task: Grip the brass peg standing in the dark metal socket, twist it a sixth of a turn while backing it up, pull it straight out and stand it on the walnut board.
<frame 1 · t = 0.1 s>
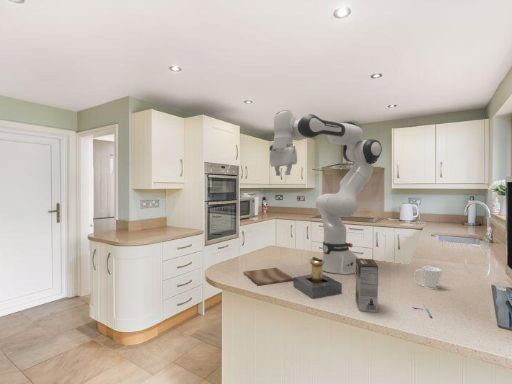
hand: (282, 175, 131), 48 cm above the countertop, tool pointing down, fingers open, 8 cm apart
squeegee: (419, 309, 99), on the countertop
coffee box: (365, 306, 100), on the countertop
metal socket: (316, 289, 116), on the countertop
cup: (426, 287, 120), on the countertop
walnut board: (267, 277, 131), on the countertop
brass peg: (316, 274, 116), in the metal socket
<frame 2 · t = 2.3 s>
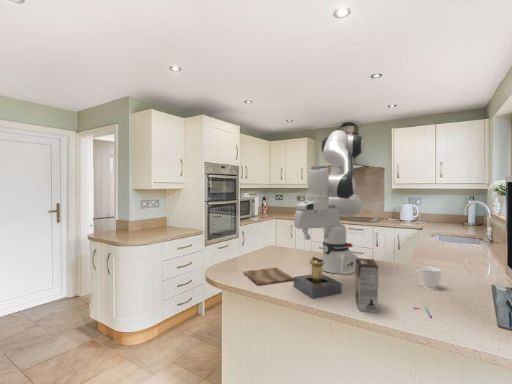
hand: (317, 238, 115), 21 cm above the countertop, tool pointing down, fingers open, 8 cm apart
nothing on the countertop moved.
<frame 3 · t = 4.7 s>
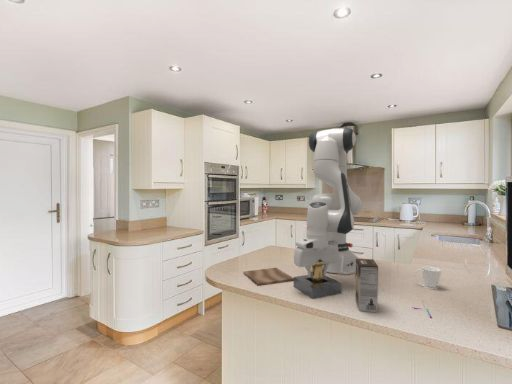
hand: (316, 275, 116), 6 cm above the countertop, tool pointing down, fingers closed on brass peg, 5 cm apart
brass peg: (316, 274, 116), in the metal socket, touching gripper
everything else where it was.
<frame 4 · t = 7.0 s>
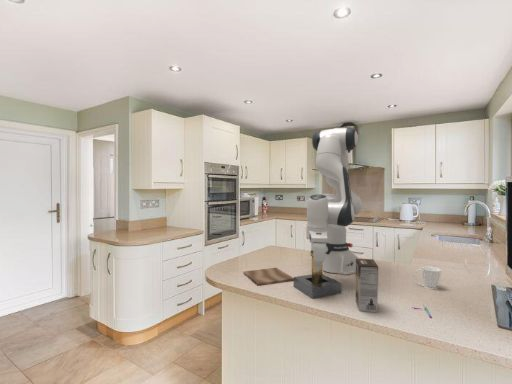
hand: (317, 267, 116), 9 cm above the countertop, tool pointing down, fingers closed on brass peg, 5 cm apart
brass peg: (317, 266, 116), point 10 cm above the countertop, touching gripper
everything else where it was.
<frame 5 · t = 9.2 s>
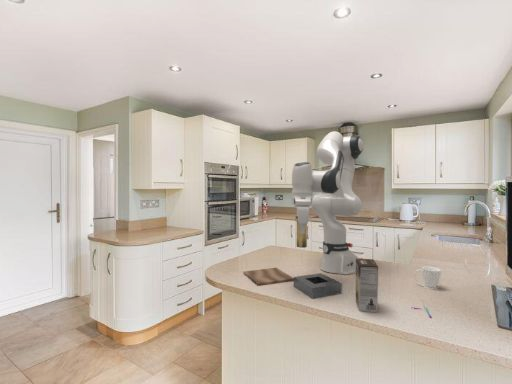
hand: (301, 232, 120), 23 cm above the countertop, tool pointing down, fingers closed on brass peg, 5 cm apart
brass peg: (301, 231, 120), point 24 cm above the countertop, touching gripper
everything else where it was.
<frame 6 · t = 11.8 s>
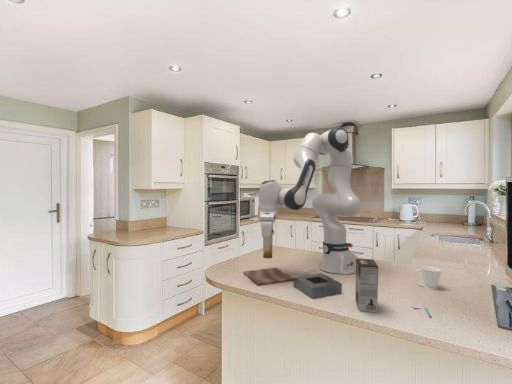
hand: (267, 244, 131), 16 cm above the countertop, tool pointing down, fingers closed on brass peg, 5 cm apart
brass peg: (267, 243, 131), point 16 cm above the countertop, touching gripper
everything else where it was.
when the fingers open (9 cm above the countertop, at t = 13.9 s): brass peg drops 1 cm, resting on walnut board.
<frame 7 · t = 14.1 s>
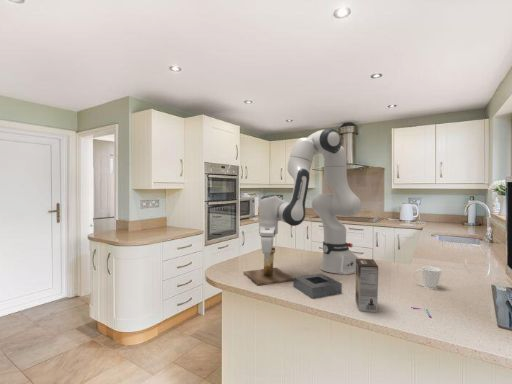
hand: (268, 258, 131), 9 cm above the countertop, tool pointing down, fingers open, 7 cm apart
brass peg: (268, 261, 131), on the walnut board, point 8 cm above the countertop
everything else where it was.
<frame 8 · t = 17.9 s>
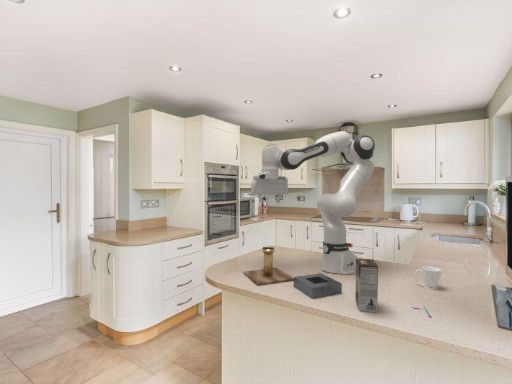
hand: (269, 202, 145), 34 cm above the countertop, tool pointing down, fingers open, 8 cm apart
nothing on the countertop moved.
at the end: brass peg inside the target area on the walnut board (0.1 cm from its centre), point 7.5 cm above the walnut board's base; brass peg tilted 1°; the gripper is holding nothing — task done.
